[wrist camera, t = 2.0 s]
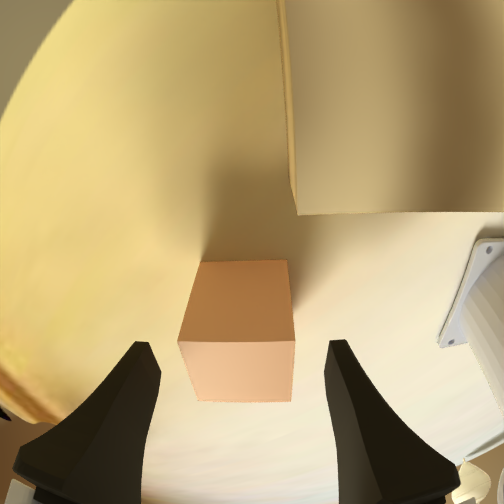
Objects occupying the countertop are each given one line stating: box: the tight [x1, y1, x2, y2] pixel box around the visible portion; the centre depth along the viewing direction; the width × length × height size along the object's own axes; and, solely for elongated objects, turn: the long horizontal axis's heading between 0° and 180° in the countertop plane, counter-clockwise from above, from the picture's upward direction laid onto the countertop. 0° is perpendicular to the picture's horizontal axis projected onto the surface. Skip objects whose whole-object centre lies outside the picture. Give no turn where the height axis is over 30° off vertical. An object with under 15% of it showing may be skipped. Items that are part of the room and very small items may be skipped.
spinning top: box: [452, 458, 491, 504], centre depth 30 cm, size 8×8×12 cm
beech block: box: [276, 0, 504, 215], centre depth 8 cm, size 10×10×4 cm
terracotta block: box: [177, 259, 295, 402], centre depth 13 cm, size 4×4×5 cm
